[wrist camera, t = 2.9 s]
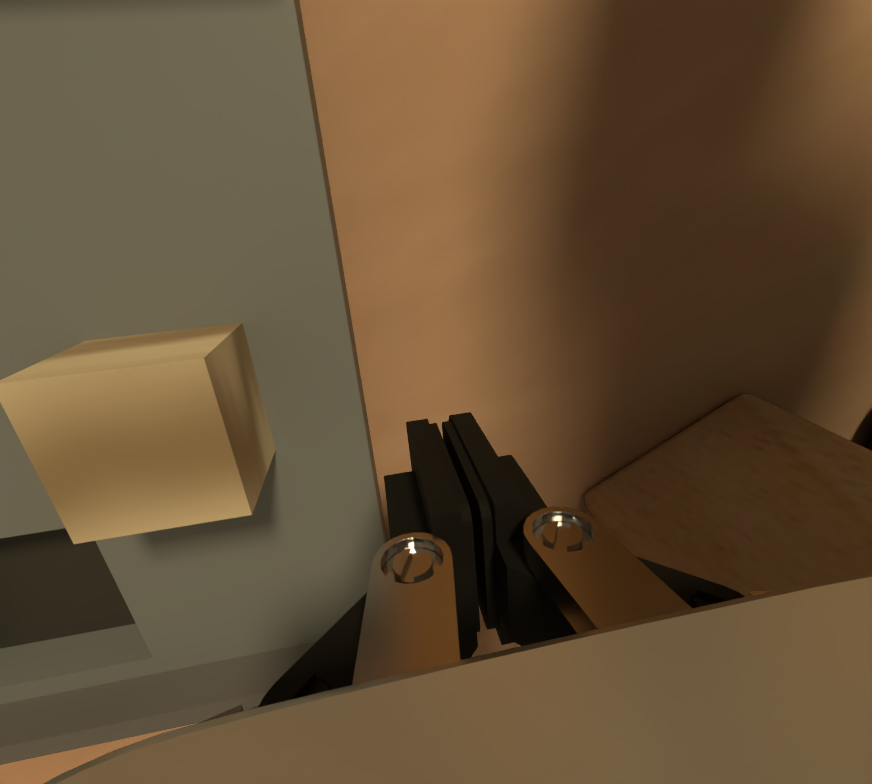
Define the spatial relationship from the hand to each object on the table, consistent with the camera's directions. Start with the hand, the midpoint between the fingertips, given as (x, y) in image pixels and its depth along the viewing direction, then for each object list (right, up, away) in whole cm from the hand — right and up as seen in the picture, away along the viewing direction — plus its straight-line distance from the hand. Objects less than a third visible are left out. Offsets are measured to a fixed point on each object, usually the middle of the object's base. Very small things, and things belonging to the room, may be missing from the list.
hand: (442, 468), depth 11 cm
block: (-9, +2, +4) cm, 10 cm away
